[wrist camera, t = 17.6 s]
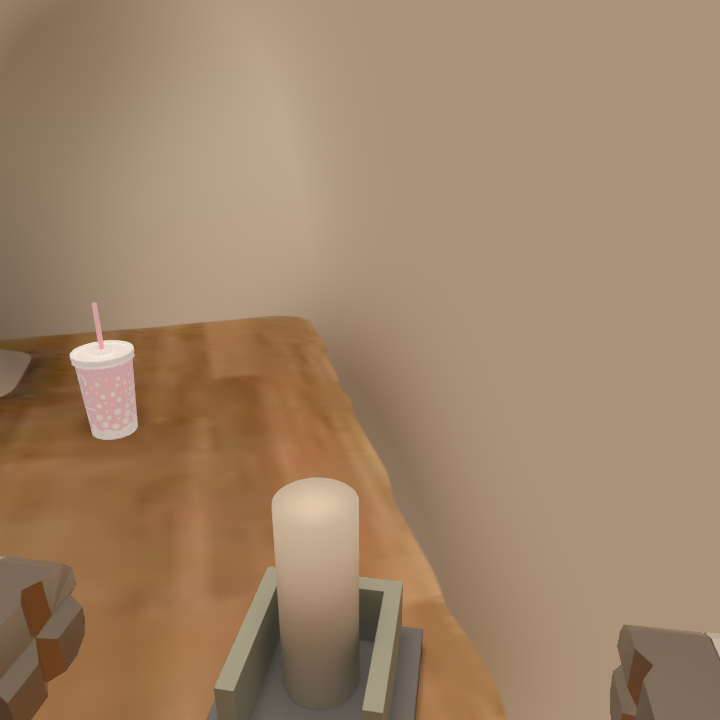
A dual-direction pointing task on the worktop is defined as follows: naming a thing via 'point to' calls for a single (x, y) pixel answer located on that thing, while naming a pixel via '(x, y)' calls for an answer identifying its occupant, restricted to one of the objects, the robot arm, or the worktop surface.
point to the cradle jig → (376, 662)
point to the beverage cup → (107, 384)
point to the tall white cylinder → (318, 590)
